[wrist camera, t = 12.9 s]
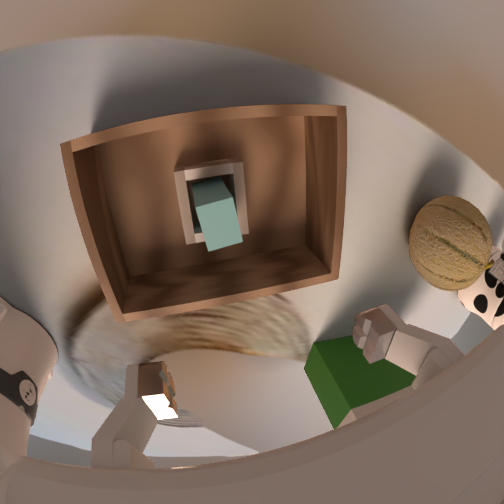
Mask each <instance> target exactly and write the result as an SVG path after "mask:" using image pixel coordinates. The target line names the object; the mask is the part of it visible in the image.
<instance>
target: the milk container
mask: <svg viewBox="0 0 504 504" xmlns="http://www.w3.org/2000/svg"><path fill="white" fill-rule="evenodd" d="M492 259H493V260H494V261H495V262H494V264H493V265H492V266H491V267H490V268H488V269H486V270H485V271H484V272H483V273H482V275H481V276H480V277H479V278H478V279H477V281H476V282H475V283H474V284H472V285H471V286H469V287H468V288H466V289H462V290H458V291H457V295H458V298H459V300H460V302H461V303H462V305H463V306H464V307H465V308H466V309H468V310H469V311H471V312H474V313H476V314H478V315H479V316H481V317H482V318H483V319H484V320H485V321H486V322H487V323H488V324H489V325H490V326H491V327H492V328H493V329H494V330H496V329H497V328H498V327H499V326H500V325H503V324H504V253H503V252H502V251H501V250H500V249H498V248H497V247H495V246H493V245H492V250H491V255H490V257H489V262H490V261H491V260H492Z"/></svg>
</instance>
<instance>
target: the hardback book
mask: <svg viewBox="0 0 504 504" xmlns="http://www.w3.org/2000/svg"><path fill="white" fill-rule="evenodd" d="M304 370H305V372H306V374H307V376H308V378H309V380H310V382H311V384H312V386H313V388H314V390H315V392H316V394H317V396H318V398H319V400H320V402H321V404H322V406H323V408H324V410H325V412H326V414H327V416H328V418H329V420H330V422H331V424H332V426H333V428H334V429H337V428H339V427H341V426H344V425H346V424H349V423H351V422H353V421H355V420H358V419H360V418H362V417H364V416H366V415H368V414H370V413H372V412H375V411H377V410H379V409H380V408H382V407H384V406H386V405H388V404H390V403H392V402H394V401H396V400H397V399H399V398H401V397H403V396H405V395H406V394H408V393H410V392H411V391H413V390H414V389H413V387H412V386H411V385H412V382H413V380H414V379H415V377H416V375H414V374H412V373H410V372H408V371H406V370H405V369H403V368H401V367H399V366H397V365H396V364H394V363H392V362H390V361H388V360H386V359H385V358H383V359H381V360H378V361H376V362H373V363H371V364H370V363H369V362H368V361H367V359H366V358H365V357H364V355H363V349H361V348H359V347H357V345H356V344H355V342H354V340H353V336H348V337H343V338H338V339H333V340H327V341H321V342H316V343H313V346H312V348H311V351H310V354H309V356H308V359H307V362H306V364H305V367H304Z"/></svg>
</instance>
